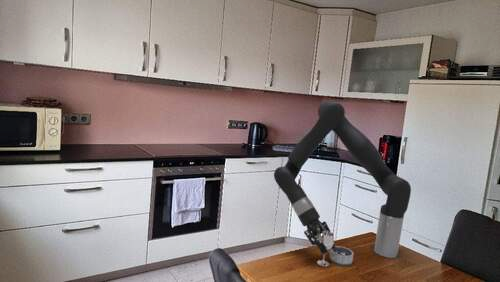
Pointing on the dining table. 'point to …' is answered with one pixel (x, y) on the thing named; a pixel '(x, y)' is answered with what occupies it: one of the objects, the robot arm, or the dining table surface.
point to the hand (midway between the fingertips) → (329, 250)
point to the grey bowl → (341, 256)
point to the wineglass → (326, 245)
